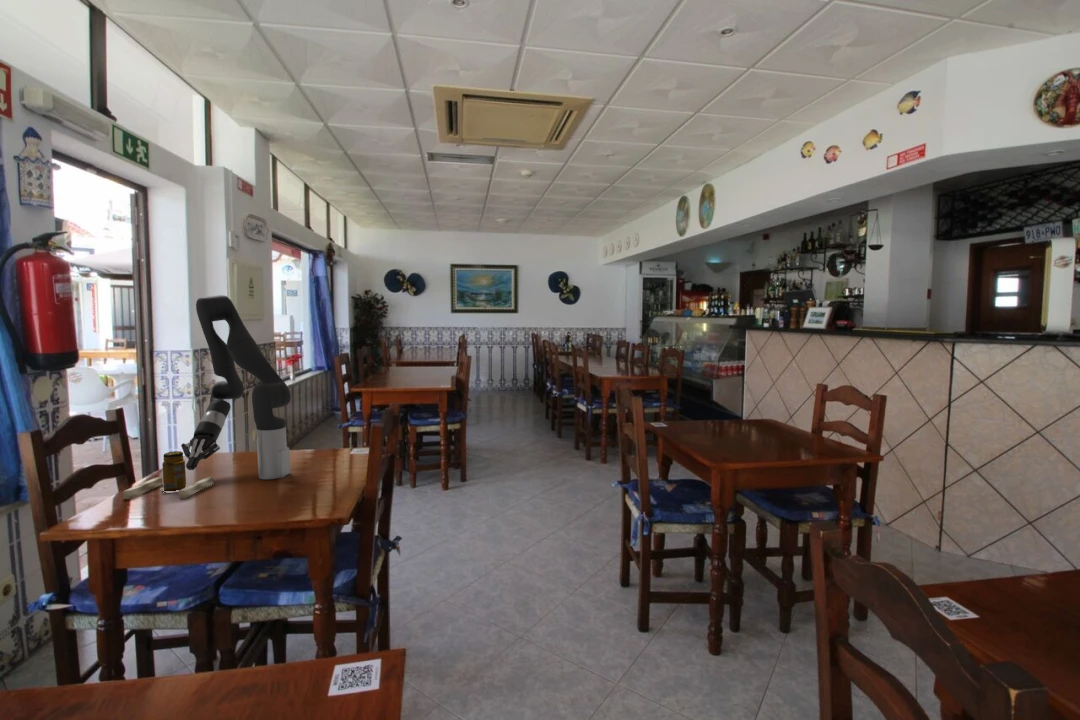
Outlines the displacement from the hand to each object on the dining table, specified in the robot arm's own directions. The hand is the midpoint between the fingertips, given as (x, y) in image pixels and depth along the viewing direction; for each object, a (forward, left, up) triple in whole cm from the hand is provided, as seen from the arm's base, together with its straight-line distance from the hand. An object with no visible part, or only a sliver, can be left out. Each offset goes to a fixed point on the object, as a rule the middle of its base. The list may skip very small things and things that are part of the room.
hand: (189, 469), depth 175 cm
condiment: (0, +8, -5) cm, 9 cm away
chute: (0, +10, -4) cm, 11 cm away
